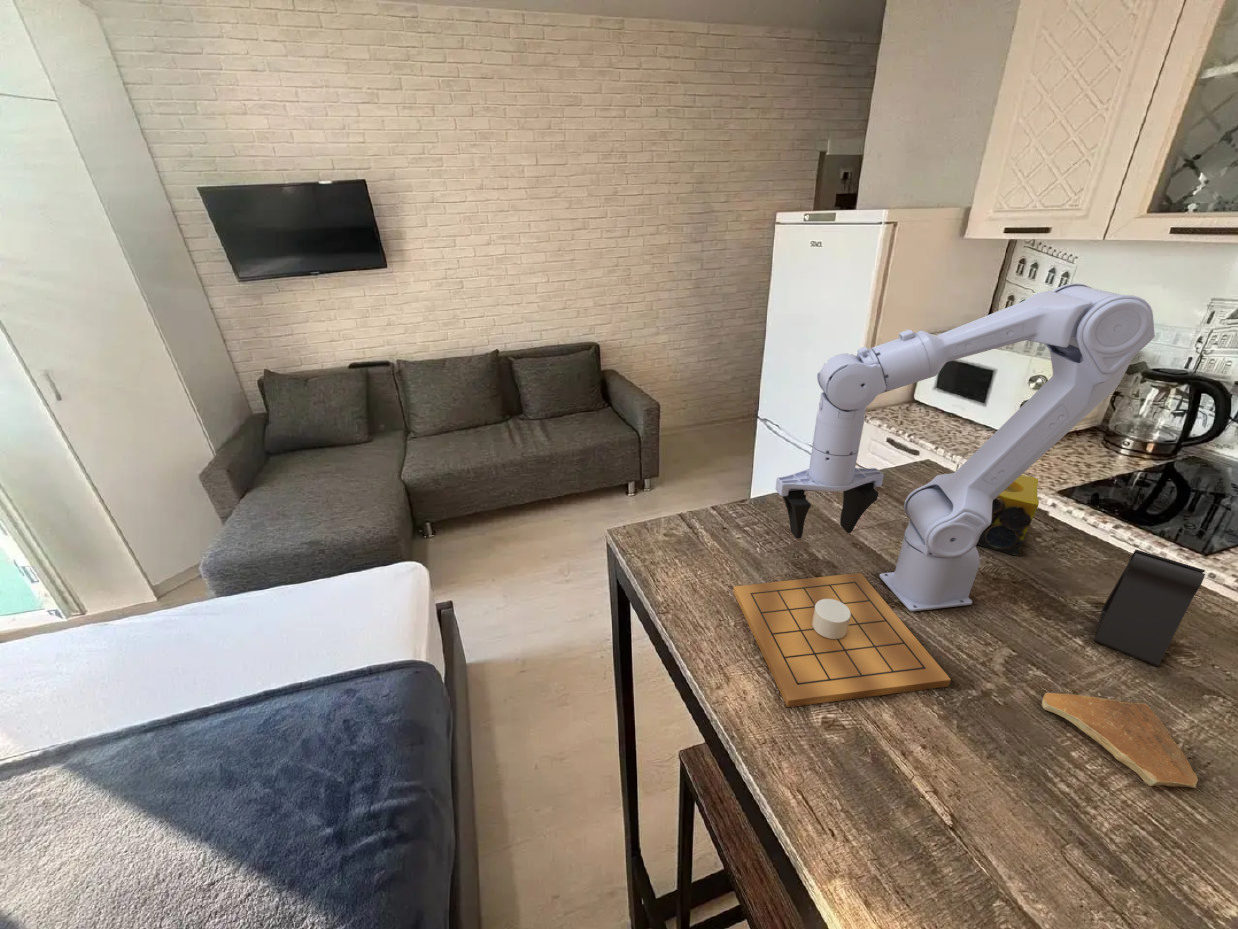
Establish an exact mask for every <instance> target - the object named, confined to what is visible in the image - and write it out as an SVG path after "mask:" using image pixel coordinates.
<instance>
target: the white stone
mask: <svg viewBox="0 0 1238 929" xmlns="http://www.w3.org/2000/svg"><path fill="white" fill-rule="evenodd" d="M850 617H851V613H850V610H849V608H848V607H847V606H846V605H845V604H843V603H841V602H839V601H837V600H834V599H822V600H819V601H818V602H817V603H816V604H815V609H814V614H813V620H812V626H813V628H814V630H815V631H816V632H817V633H818V634H820V635H821V636H823V637H826V638H829V639H840V638H843V637H844V636H845V635H846V634H847V630H848V626H849V621H850Z"/></svg>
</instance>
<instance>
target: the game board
mask: <svg viewBox="0 0 1238 929" xmlns="http://www.w3.org/2000/svg"><path fill="white" fill-rule="evenodd" d="M733 594H734V597H735V599H736V601H737V604H738V606H739V607H740V610H741V612H742V615H743V616H744V618H745V621H746V623H747V625H748V627H749V629H750V631H751V633H752V635H753V638H754V639H755V642H756V644H757V646H758V648H759V650H760V652H761V655H762V657H763V659H764V661H765V663H766V665H767V668H768V669H769V671H770V674H771V676H772V679H773V680H774V682H775V684H776V686H777V688H778V691H779V693H780V695H781V697H782V699H783V701H784V704H785V705H786V707H787V708H791V707H793V708H794V707H800V706H801V707H802V706H808V705H817V704H823V703H824V704H825V703H832V702H838V701H839V702H841V701H846V700H854V699H863V698H869V697H870V698H871V697H879V696H886V695H892V694H894V695H895V694H901V693H908V692H915V691H923V690H932V689H939V688H946V687H949V686H950V683H951V682H952V679H951V678H950V676H949V675H948V674H947V673H946V671H945V670H944V669H943V668H942V667H941V666H940V665H939V663H938V662H937V661H936V660H935V659H934V658H933V656H932V655H931V654H930V653H929V652H928V651H927V650H926V648H925V647H924V646H923V645H922V643H921V642H920V641H919V639H917V637H916V636H915V635H914V634H913V633H912V631H911V630H910V629H909V628H908V626H906V624H905V623H904V622H903V621H902V620H901V619H900V617H899V616H898V615H897V613H896V612H895V611H894V610H893V609H892V608H891V606H890V605H889V604H888V603H887V602H886V601H885V600H884V598H883V597H882V596H881V595H880V594H879V592H878V591H877V590H876V589H875V588H874V586H872V584H871V583H870V582H869V581H868V580H867V578H866V577H865V576H864V575H863V573H862V572H854V573H845V574H838V575H837V574H836V575H835V574H834V575H826V576H818V577H809V578H808V577H807V578H799V579H789V580H780V581H771V582H763V583H753V584H745V585H744V584H743V585H734V586H733ZM822 599H834V600H837V601H839V602H841V603H843V604H845V605H846V606H847V607H848V608H849V610H850V613H851V617H850V621H849V626H848V630H847V634H846V635H845V636H844V637H843V638H840V639H829V638H826V637H823V636H821V635H820V634H818V633H817V632H816V631H815V630H814V628H813V626H812V620H813V614H814V609H815V604H816V603H817V602H818V601H819V600H822Z"/></svg>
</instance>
